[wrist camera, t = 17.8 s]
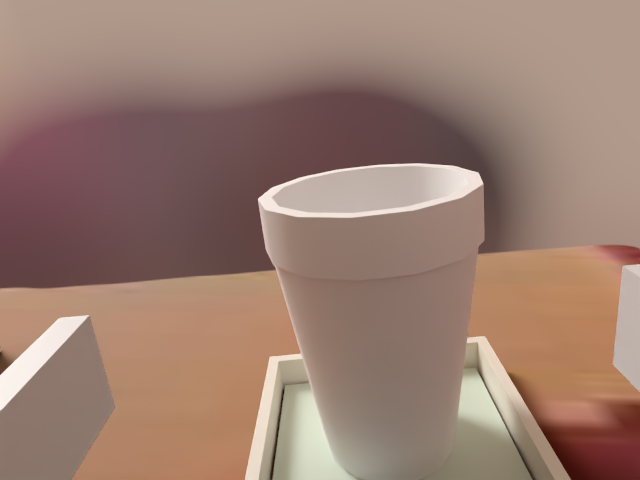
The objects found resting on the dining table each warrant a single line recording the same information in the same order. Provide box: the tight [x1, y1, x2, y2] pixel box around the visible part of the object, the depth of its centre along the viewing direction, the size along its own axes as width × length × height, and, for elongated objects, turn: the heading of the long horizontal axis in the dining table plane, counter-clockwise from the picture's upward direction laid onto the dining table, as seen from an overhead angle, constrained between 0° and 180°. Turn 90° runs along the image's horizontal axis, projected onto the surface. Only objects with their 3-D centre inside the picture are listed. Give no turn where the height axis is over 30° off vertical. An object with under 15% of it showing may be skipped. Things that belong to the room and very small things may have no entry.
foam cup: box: [258, 163, 484, 480], centre depth 24 cm, size 10×9×13 cm
